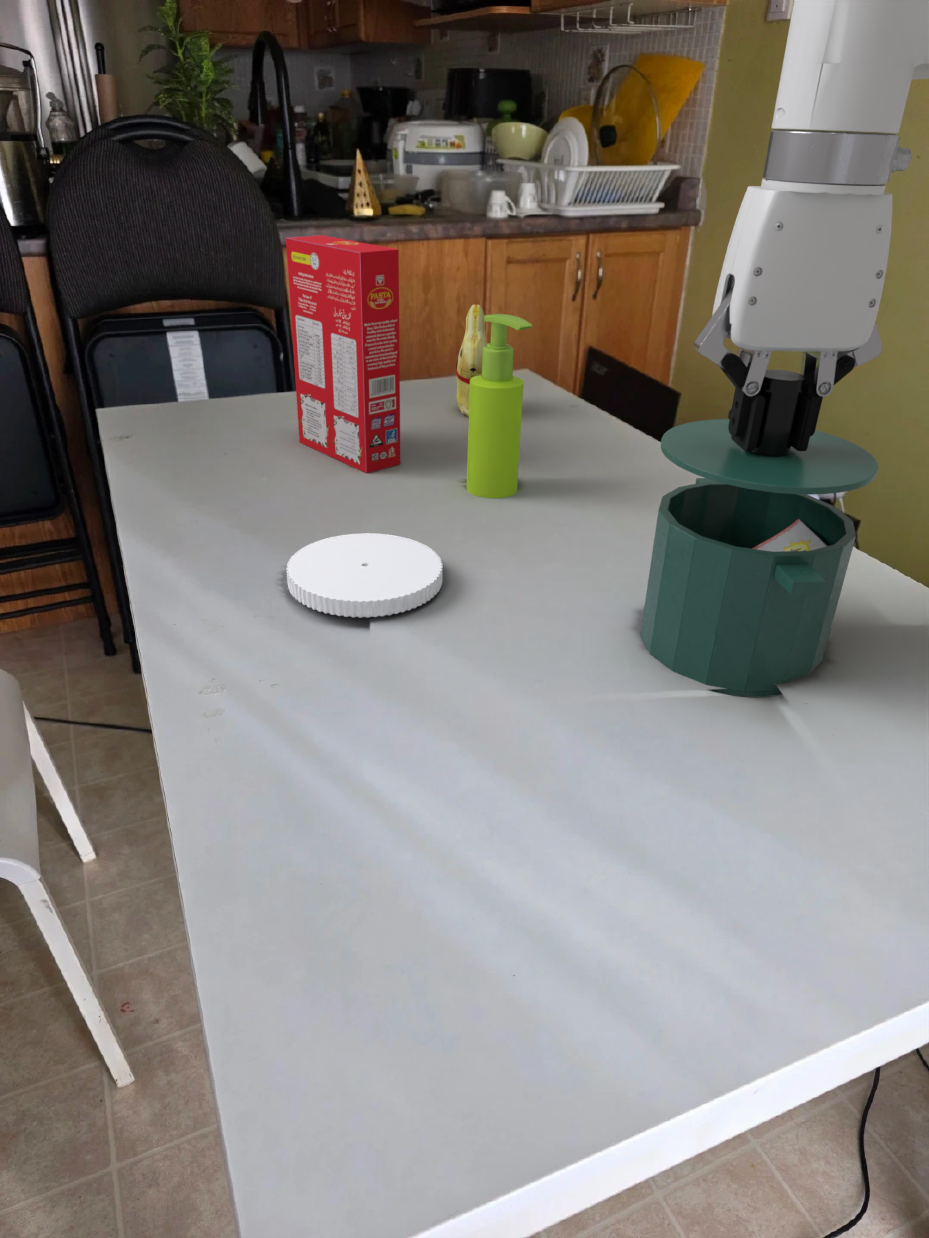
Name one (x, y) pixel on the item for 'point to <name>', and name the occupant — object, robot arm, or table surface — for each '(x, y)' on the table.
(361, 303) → the food packaging
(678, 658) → the pot
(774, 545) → the white cardboard box
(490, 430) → the soap dispenser
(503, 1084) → the table surface
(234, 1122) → the table surface
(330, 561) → the plastic lid
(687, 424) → the pot lid
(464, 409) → the chocolate bunny
